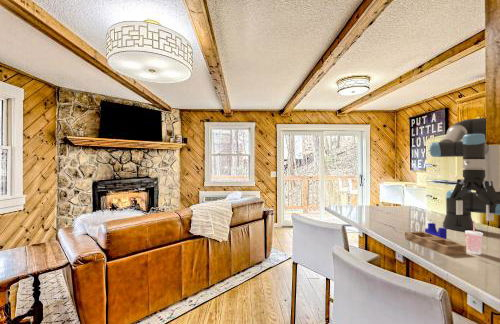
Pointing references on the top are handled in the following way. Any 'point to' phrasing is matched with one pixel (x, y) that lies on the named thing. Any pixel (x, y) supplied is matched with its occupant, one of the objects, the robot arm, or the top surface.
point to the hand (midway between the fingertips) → (473, 217)
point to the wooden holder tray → (436, 243)
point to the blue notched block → (432, 230)
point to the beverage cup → (474, 241)
